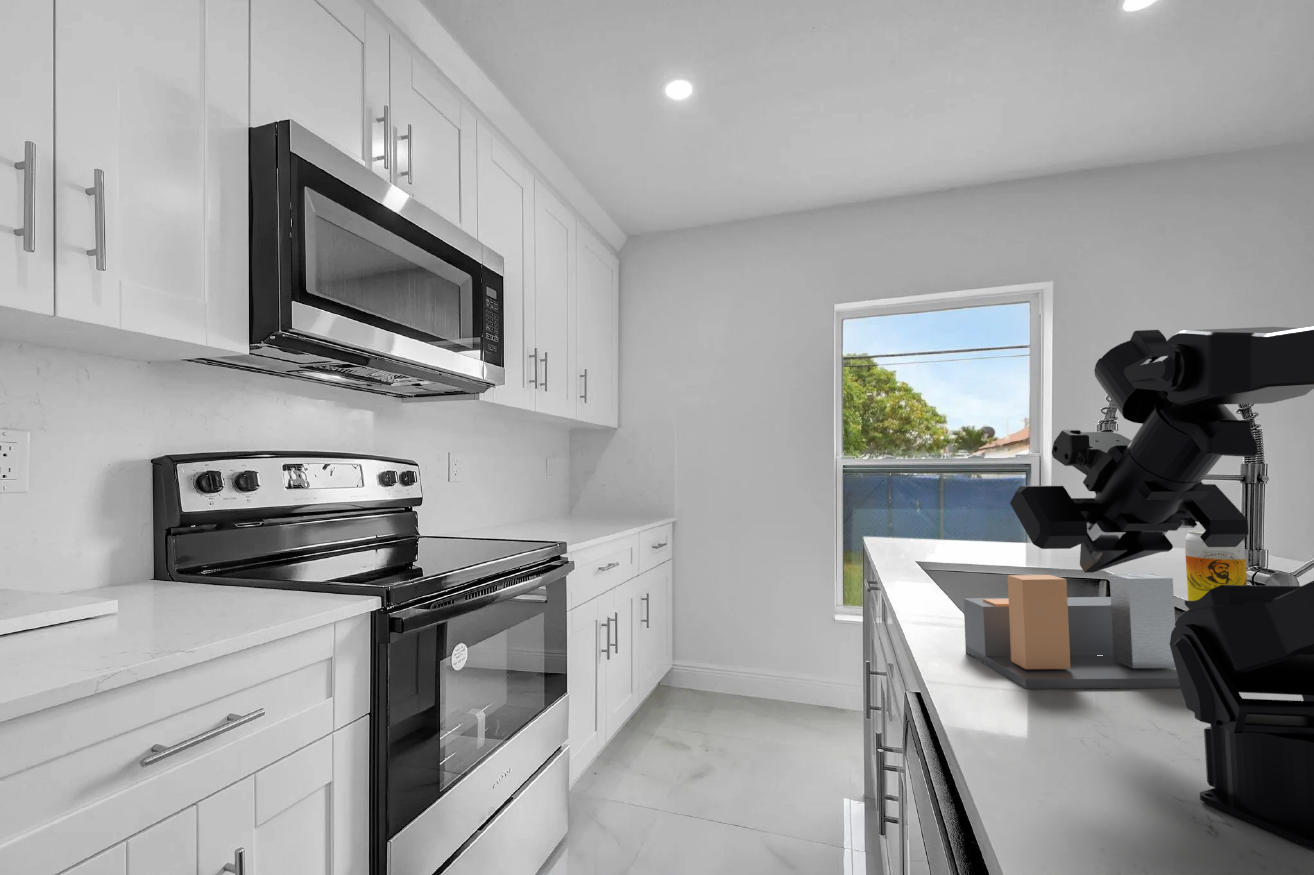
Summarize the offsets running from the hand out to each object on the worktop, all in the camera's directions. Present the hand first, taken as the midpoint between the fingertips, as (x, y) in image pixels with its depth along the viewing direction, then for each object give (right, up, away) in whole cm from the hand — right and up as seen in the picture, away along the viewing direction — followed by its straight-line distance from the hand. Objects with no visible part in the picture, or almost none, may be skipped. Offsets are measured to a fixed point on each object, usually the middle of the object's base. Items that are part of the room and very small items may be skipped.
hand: (1085, 568), depth 64 cm
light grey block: (+12, -13, +8) cm, 19 cm away
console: (+6, -14, +11) cm, 19 cm away
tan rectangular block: (0, -13, +8) cm, 15 cm away
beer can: (+32, -15, +20) cm, 41 cm away
